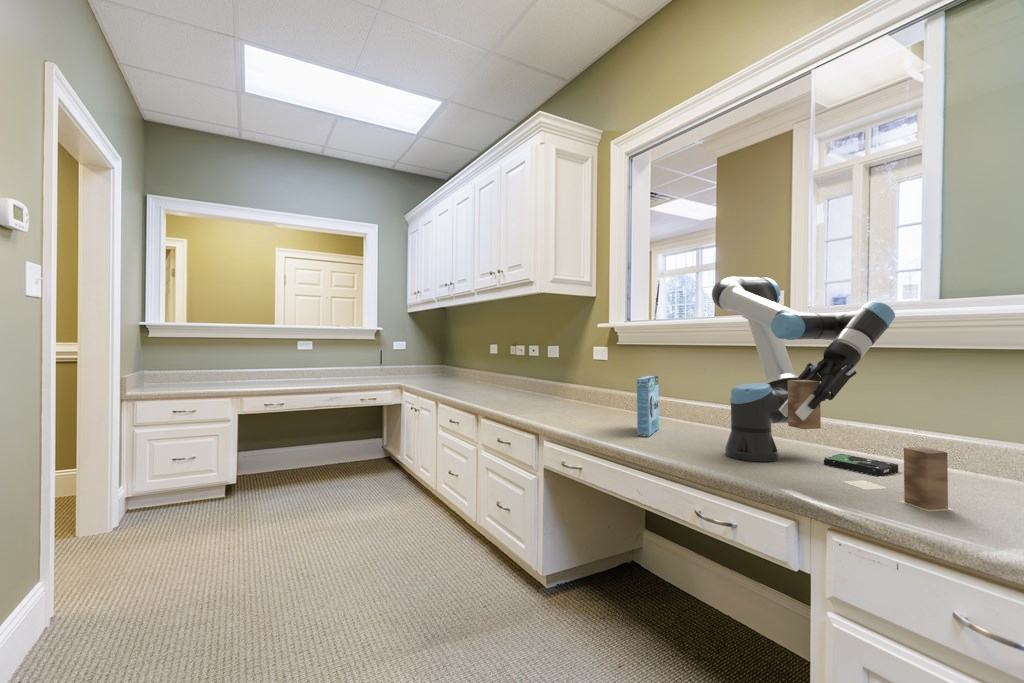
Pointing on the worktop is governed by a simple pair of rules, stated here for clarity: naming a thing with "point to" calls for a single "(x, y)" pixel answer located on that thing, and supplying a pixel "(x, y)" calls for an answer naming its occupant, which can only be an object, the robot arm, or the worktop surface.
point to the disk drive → (861, 464)
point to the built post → (926, 478)
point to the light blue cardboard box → (647, 405)
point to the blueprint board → (869, 485)
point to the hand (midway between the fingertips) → (791, 414)
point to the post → (797, 397)
